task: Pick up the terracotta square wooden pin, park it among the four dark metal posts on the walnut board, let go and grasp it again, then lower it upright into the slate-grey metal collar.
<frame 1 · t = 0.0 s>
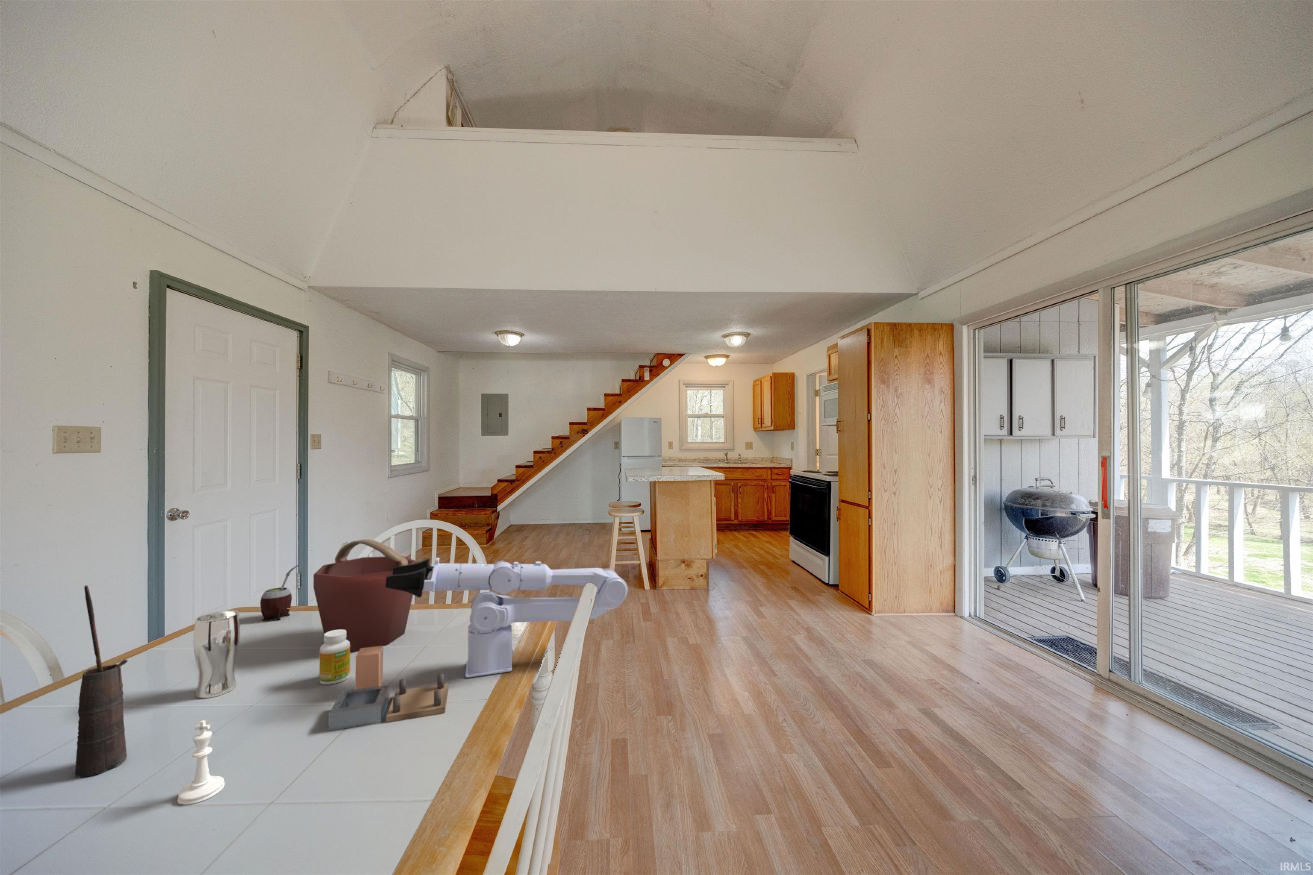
hand: (389, 576, 103), 22 cm above the table, tool horizontal, fingers open, 7 cm apart
mate gourd: (278, 618, 140), on the table
pin: (369, 690, 99), on the table
supplement bottle: (334, 679, 103), on the table
beer glass: (216, 691, 98), on the table
chess piece: (201, 793, 70), on the table
socket collar: (360, 714, 90), on the table
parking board: (419, 704, 93), on the table
bucket: (364, 640, 125), on the table
butter churn: (111, 762, 76), on the table
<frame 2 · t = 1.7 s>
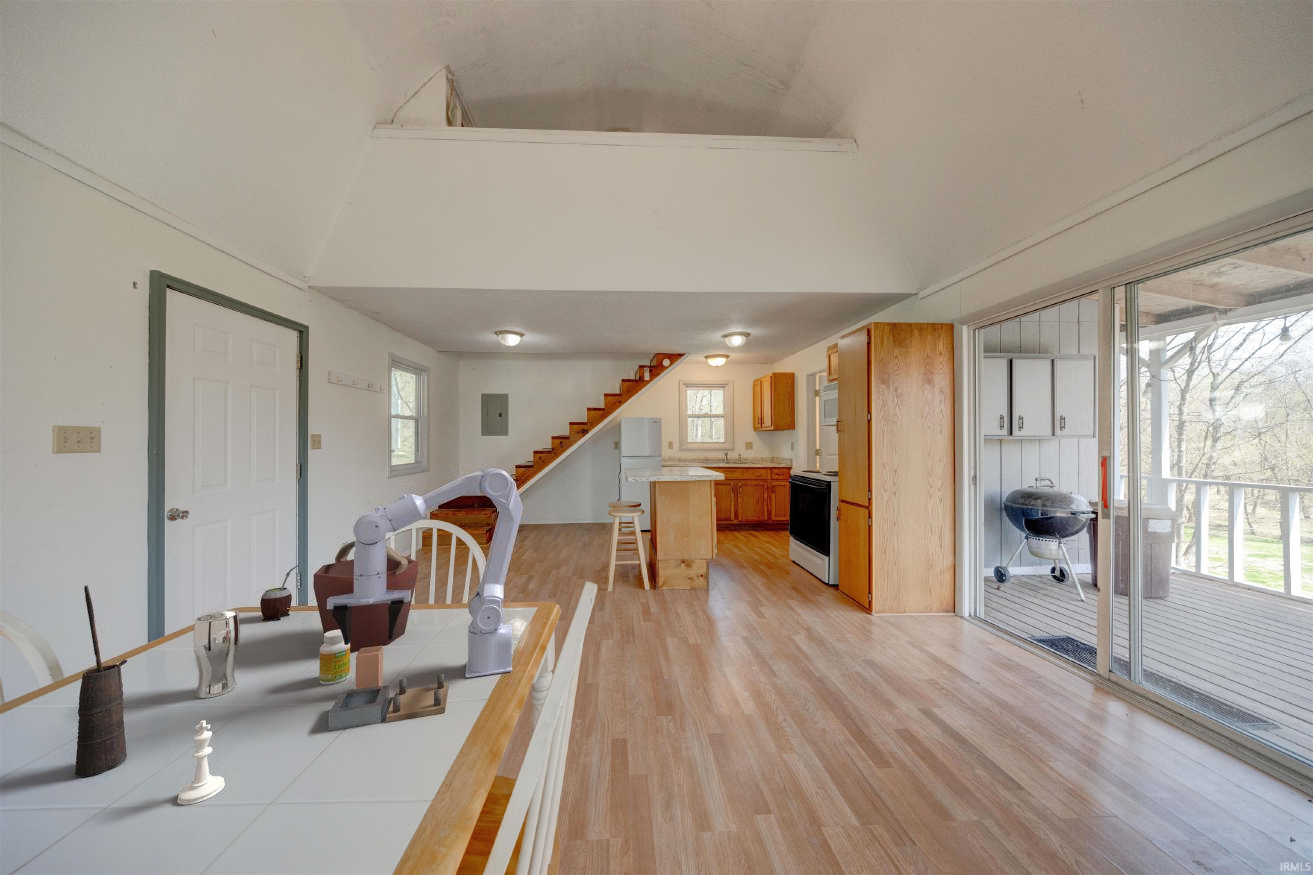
hand: (369, 640, 99), 10 cm above the table, tool pointing down, fingers open, 7 cm apart
nothing on the table moved.
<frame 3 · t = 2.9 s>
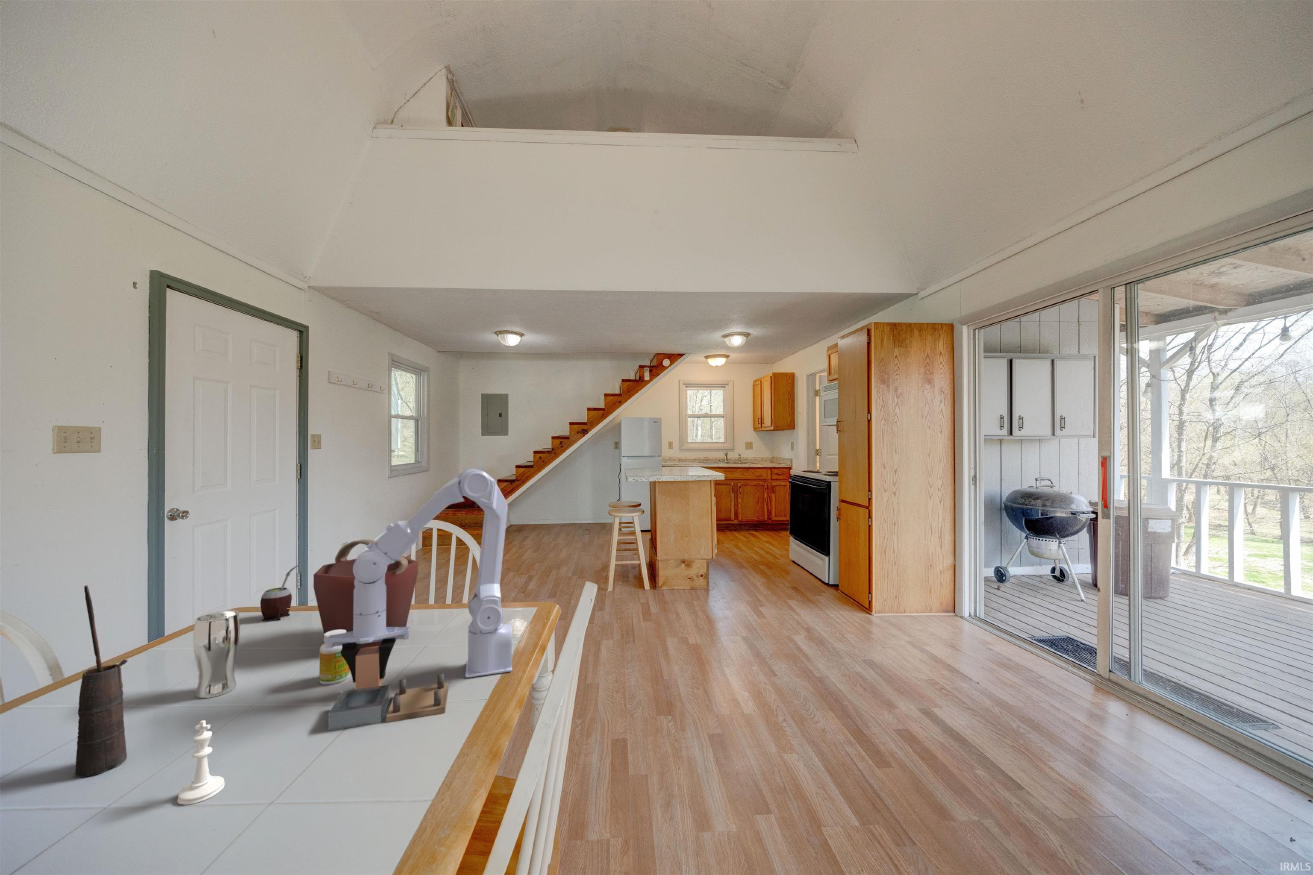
hand: (369, 678, 99), 2 cm above the table, tool pointing down, fingers closed on pin, 4 cm apart
pin: (369, 690, 99), on the table, touching gripper
everything else where it was.
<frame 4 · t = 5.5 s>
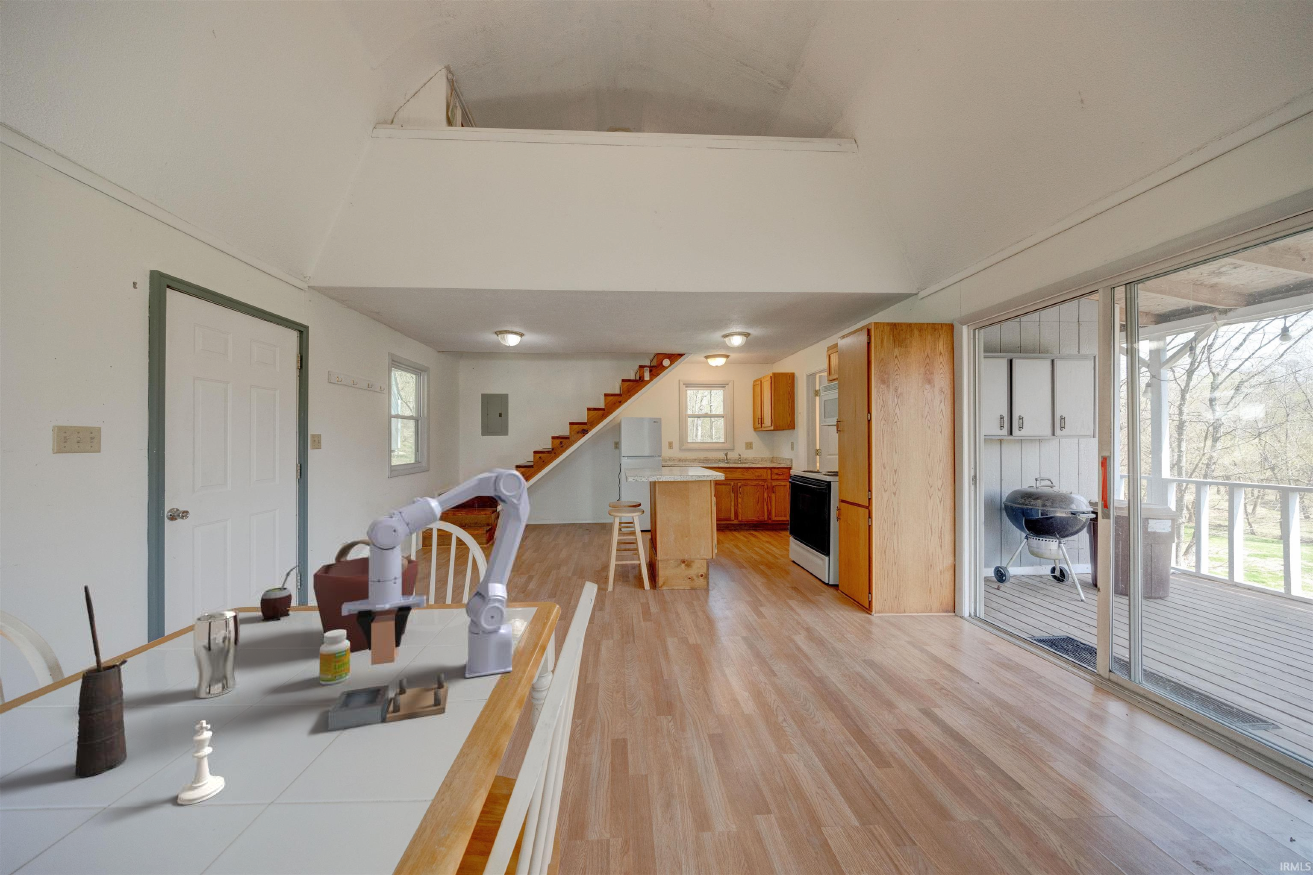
hand: (385, 646, 97), 9 cm above the table, tool pointing down, fingers closed on pin, 4 cm apart
pin: (384, 659, 97), point 7 cm above the table, touching gripper
everything else where it was.
when the fingers open (5 cm above the table, at t = 7.9 s): pin drops 1 cm, resting on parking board.
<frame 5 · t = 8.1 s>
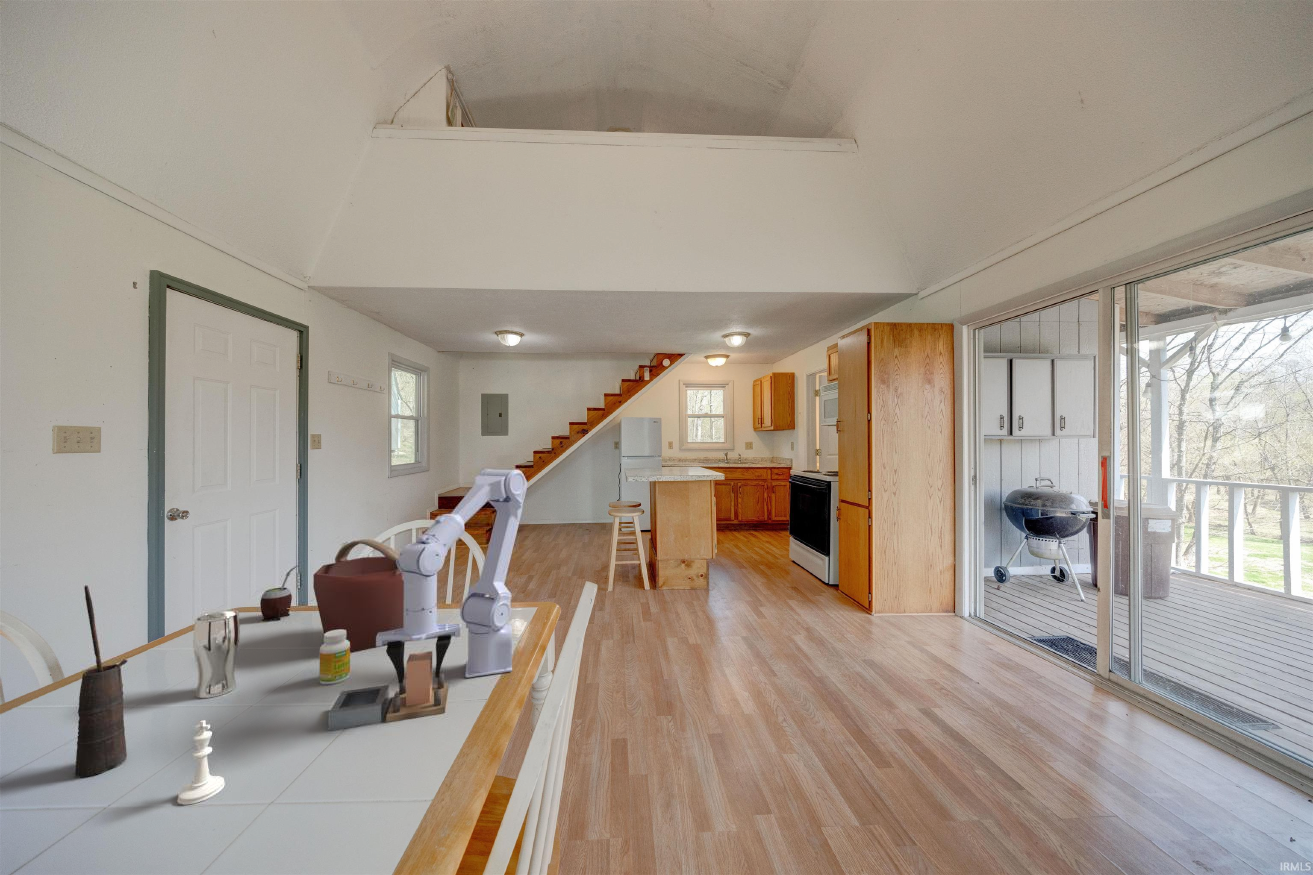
hand: (419, 678, 93), 5 cm above the table, tool pointing down, fingers open, 6 cm apart
pin: (419, 698, 93), point 1 cm above the table, touching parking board
everything else where it was.
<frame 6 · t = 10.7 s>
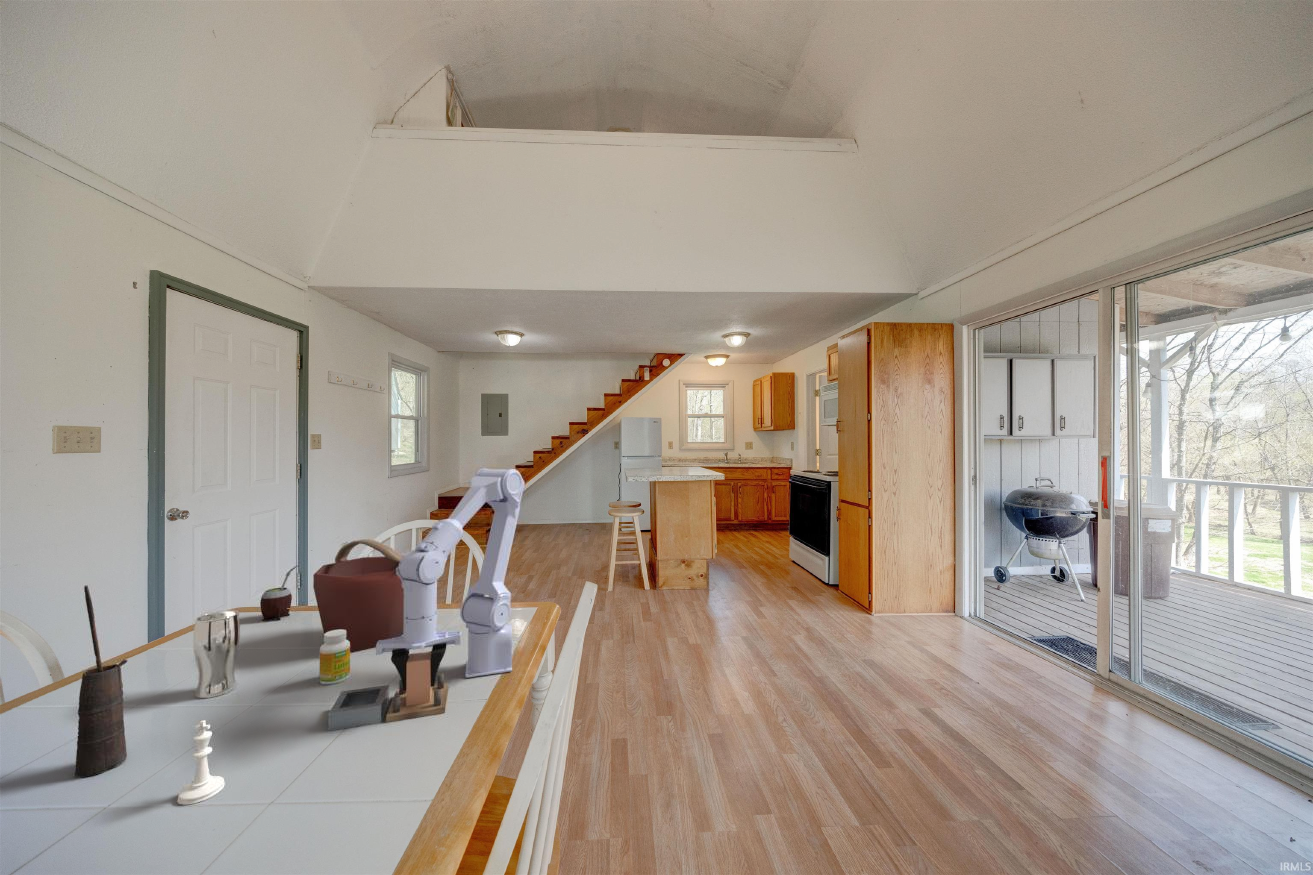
hand: (419, 686, 93), 3 cm above the table, tool pointing down, fingers closed on pin, 4 cm apart
pin: (419, 698, 93), point 1 cm above the table, touching gripper, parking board
everything else where it was.
when the fingers open (4 cm above the table, at t = 15.5 s): pin drops 2 cm, resting in socket collar.
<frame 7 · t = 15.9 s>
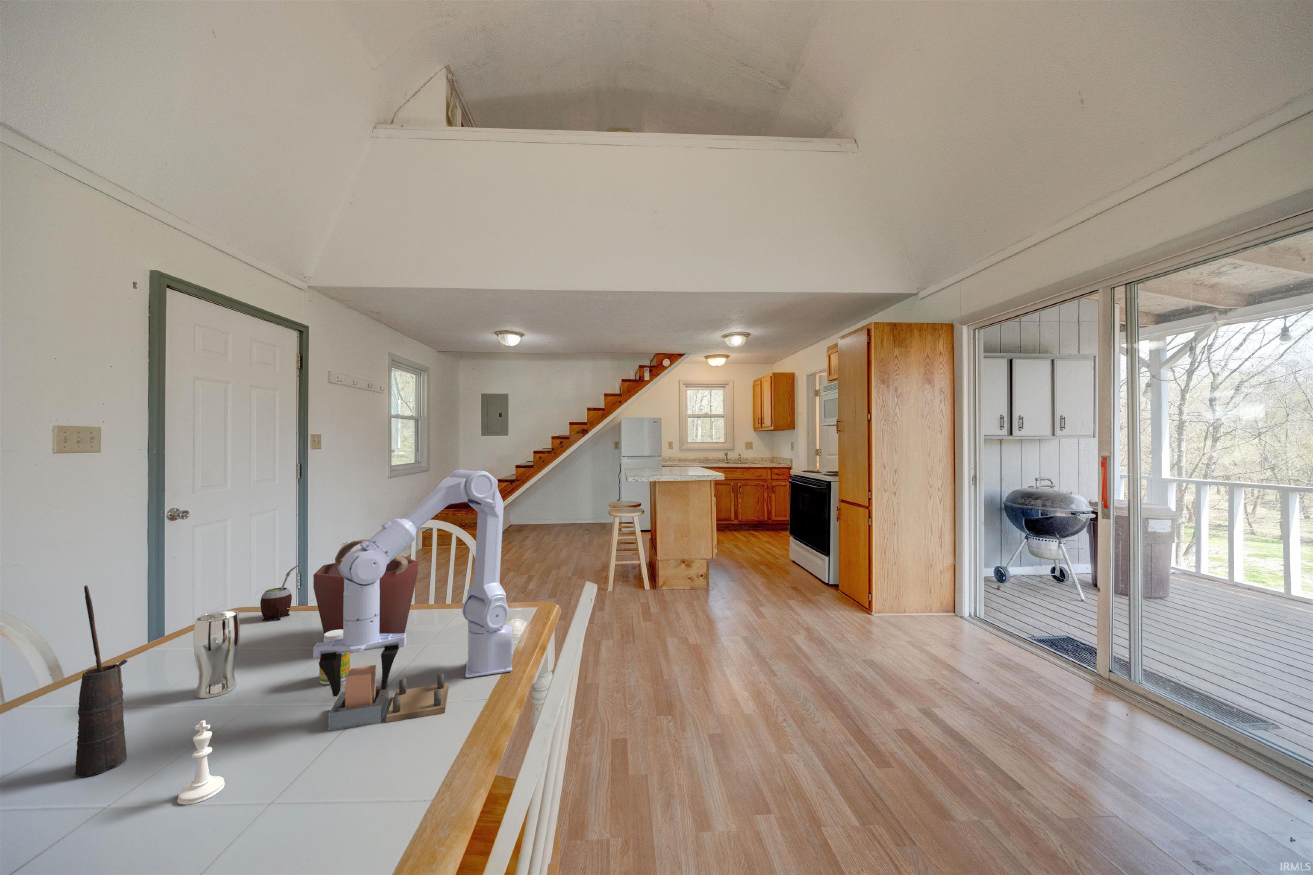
hand: (360, 690, 90), 4 cm above the table, tool pointing down, fingers open, 7 cm apart
pin: (360, 714, 90), resting in socket collar
everything else where it was.
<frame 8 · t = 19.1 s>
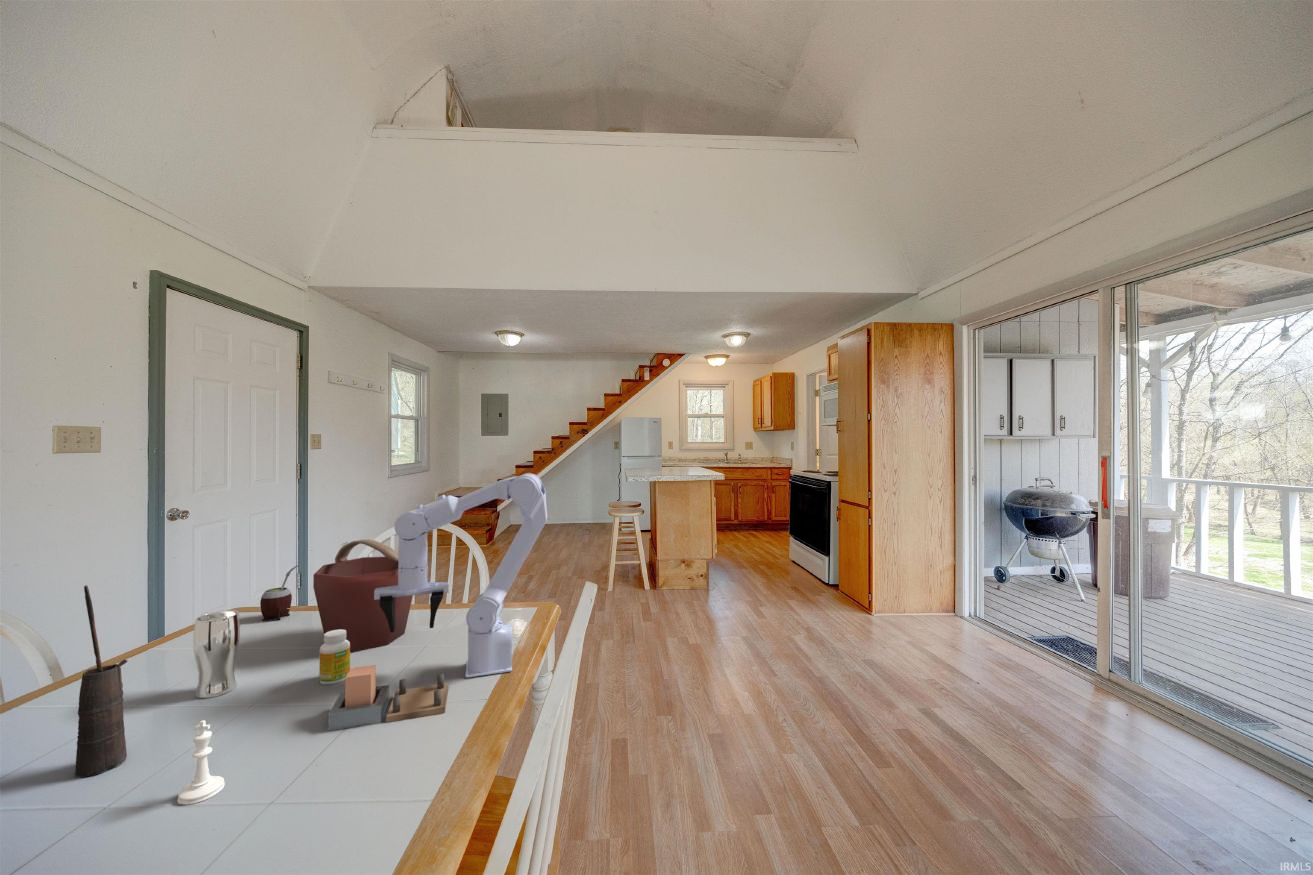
hand: (412, 628, 107), 9 cm above the table, tool pointing down, fingers open, 7 cm apart
nothing on the table moved.
at the end: pin 0.1 cm off-centre on the socket collar, point 0.0 cm above the socket collar's base; pin tilted 0°; the gripper is holding nothing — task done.
